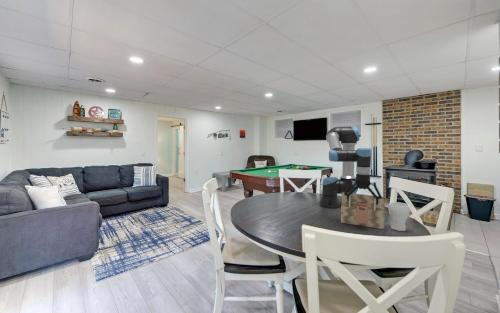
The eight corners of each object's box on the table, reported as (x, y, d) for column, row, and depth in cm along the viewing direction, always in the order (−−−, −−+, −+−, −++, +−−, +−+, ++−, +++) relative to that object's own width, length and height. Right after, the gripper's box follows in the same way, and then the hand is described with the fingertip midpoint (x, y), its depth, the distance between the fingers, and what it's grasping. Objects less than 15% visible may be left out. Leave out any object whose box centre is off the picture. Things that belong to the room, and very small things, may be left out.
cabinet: (356, 222, 129) (356, 207, 128) (356, 216, 138) (356, 202, 137) (367, 224, 126) (367, 209, 125) (367, 217, 135) (367, 203, 134)
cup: (400, 224, 135) (401, 201, 134) (413, 232, 124) (414, 206, 123) (383, 225, 135) (384, 201, 134) (395, 232, 124) (396, 207, 123)
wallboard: (340, 222, 140) (341, 193, 138) (341, 220, 144) (342, 192, 143) (383, 229, 128) (385, 198, 127) (383, 226, 133) (384, 196, 131)
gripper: (340, 173, 131) (339, 206, 133) (388, 176, 119) (386, 213, 121) (341, 171, 137) (340, 203, 139) (387, 174, 126) (385, 209, 128)
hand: (361, 208), depth 130 cm, fingers open, 13 cm apart
